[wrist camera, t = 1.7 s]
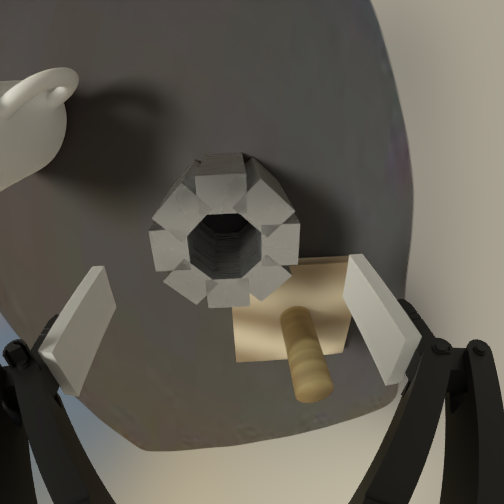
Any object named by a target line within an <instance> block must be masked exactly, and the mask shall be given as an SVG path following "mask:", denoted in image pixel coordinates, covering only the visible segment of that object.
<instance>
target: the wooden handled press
mask: <svg viewBox="0 0 504 504" xmlns="http://www.w3.org/2000/svg"><path fill="white" fill-rule="evenodd" d="M348 260H349V256H332V257H314V258H298V265H289V267H290V270H291V273H292V276H291V277H290V278H289V279H287V280H286V281H285V282H284V283H283V284H282V285H281V286H279V287H278V288H277V289H276V290H275V291H274V292H272V293H271V294H270V295H269V296H268V297H267V298H265V299H264V300H263V301H262V302H261V301H260V300H258V299H257V298H256V297H254V296H253V295H252V294H250V306H244V307H232V313H233V326H234V338H235V351H236V362H252V361H267V360H279V359H288V362H289V367H290V371H291V376H292V381H293V386H294V391H295V396H296V399H297V400H298V401H300V402H304V403H313V402H317V401H320V400H323V399H325V398H326V397H328V396H329V395H330V394H331V393H332V392H333V389H334V386H333V383H332V380H331V377H330V373H329V370H328V367H327V364H326V361H325V358H324V355H327V354H334V353H342V352H343V349H344V345H345V341H346V337H347V333H348V329H349V325H350V321H351V316H352V314H351V312H350V310H349V308H348V307H347V305H346V303H345V301H344V299H343V292H344V286H345V280H346V273H347V267H348Z"/></svg>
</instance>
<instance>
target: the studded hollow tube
mask: <svg viewBox="0 0 504 504" xmlns="http://www.w3.org/2000/svg"><path fill="white" fill-rule="evenodd" d="M294 212H295V210H294V208H293V206H292V204H291V203H290V201H289V199H288V197H287V196H286V194H285V192H284V190H283V188H282V187H281V185H280V183H279V182H278V180H277V179H276V178H275V177H274V176H273V175H272V174H271V173H270V172H269V171H267V170H266V169H265V168H264V167H263V166H262V165H261V164H260V163H259V162H258V161H257V160H256V159H255V158H253V157H251V158H250V159H249V160H248V161H247V162H246V163H245V164H244V161H243V156H242V153H223V154H206V155H205V156H204V158H203V160H202V162H201V164H200V163H199V162H198V161H197V160H194V161H193V163H192V164H191V165H190V166H189V167H188V168H187V169H186V170H185V172H184V173H183V174H182V175H181V176H180V177H179V179H178V180H177V181H176V182H175V183H174V185H173V186H172V187H171V189H170V190H169V192H168V193H167V195H166V197H165V198H164V200H163V201H162V203H161V204H160V206H159V208H158V209H157V211H156V212H155V214H154V216H153V217H152V219H153V220H154V223H153V224H152V226H151V228H150V230H149V236H150V242H151V247H152V253H153V258H154V263H155V268H156V271H166V274H165V277H164V280H163V282H165V283H166V284H167V285H169V286H170V287H172V288H173V289H175V290H176V291H177V292H179V293H180V294H182V295H183V296H185V297H186V298H187V299H189V300H190V301H192V302H193V303H195V304H196V305H197V304H198V303H199V302H200V301H201V300H202V299H203V298H204V297H205V296H206V295H207V299H208V307H209V308H223V307H244V306H250V294H252V295H253V296H254V297H256V298H257V299H258V300H260V301H261V302H262V301H263V300H264V299H265V298H267V297H268V296H269V295H270V294H271V293H272V292H274V291H275V290H276V289H277V288H278V287H279V286H281V285H282V284H283V283H284V282H285V281H286V280H287V279H289V278H290V277H291V276H292V273H291V270H290V267H289V265H298V254H299V237H300V222H299V220H298V219H297V217H296V215H295V213H294ZM231 213H239V214H240V215H241V216H243V217H244V218H245V219H246V220H247V221H248V223H247V224H246V225H245V226H244V227H243V228H242V229H241V230H240V231H239V232H234V233H216V232H214V231H213V230H212V229H211V228H209V227H208V226H207V225H206V224H204V223H203V222H202V221H201V220H202V219H203V218H204V217H205V216H206V215H211V214H231Z"/></svg>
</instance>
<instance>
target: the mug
mask: <svg viewBox="0 0 504 504" xmlns="http://www.w3.org/2000/svg"><path fill="white" fill-rule="evenodd" d="M78 82H79V78H78V75H77V73H76V72H75V71H74V70H72V69H70V68H63V67H61V68H53V69H48V70H45V71H42V72H39V73H36V74H34V75H32V76H30V77H28V78H26V79H24V80H21V81H2V82H0V191H2V190H4V189H5V188H7V187H9V186H11V185H12V184H14V183H16V182H18V181H20V180H21V179H23V178H25V177H27V176H29V175H31V174H33V173H35V172H37V171H39V170H40V169H42V168H43V167H45V166H46V165H47V164H48V163H50V162H51V161H52V160H53V159H54V157H55V156H56V155H57V153H58V151H59V150H60V148H61V145H62V143H63V140H64V137H65V132H66V125H67V117H66V109H65V105H64V102H65V101H66V100H67V99H68V98H69V97H70V96H71V95H72V94H73V93H74V91H75V90H76V88H77V86H78ZM55 88H56V89H55Z"/></svg>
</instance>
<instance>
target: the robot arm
mask: <svg viewBox="0 0 504 504" xmlns="http://www.w3.org/2000/svg"><path fill="white" fill-rule="evenodd" d="M343 299H344V301H345V303H346V305H347V307H348V308H349V310H350V312H351V314H352V316H353V318H354V320H355V322H356V324H357V326H358V328H359V330H360V332H361V334H362V337H363V339H364V341H365V343H366V345H367V347H368V349H369V351H370V353H371V355H372V357H373V359H374V362H375V364H376V366H377V368H378V370H379V372H380V374H381V377H382V379H383V381H384V383H385V385H386V386H387V385H392V384H396V383H400V382H401V381H402V379H403V377H404V375H405V374H406V376H407V377H408V379H409V380H408V382H407V384H406V386H405V388H404V390H403V392H402V394H401V395H402V397H401V400H400V403H399V405H398V407H397V410H396V412H395V415H394V417H393V419H392V422H391V424H390V426H389V428H388V431H387V433H386V435H385V437H384V439H383V442H382V443H381V446H380V448H379V450H378V452H377V454H376V456H375V458H374V460H373V462H372V463H371V465H370V467H369V469H368V471H367V473H366V475H365V476H364V478H363V480H362V482H361V483H360V485H359V487H358V489H357V490H356V492H355V494H354V495H353V497H352V499H351V500H350V502H349V503H348V504H408V503H409V501H410V498H411V496H412V494H413V492H414V489H415V487H416V485H417V482H418V480H419V477H420V475H421V472H422V470H423V467H424V465H425V462H426V459H427V456H428V454H429V451H430V448H431V444H432V441H433V438H434V435H435V432H436V428H437V425H438V422H439V418H440V414H441V410H442V406H443V403H444V399H445V414H446V415H445V416H446V428H445V457H444V470H443V481H442V490H441V497H440V504H504V409H503V402H502V397H501V391H500V386H499V381H498V376H497V371H496V367H495V363H494V358H493V354H492V351H491V349H490V347H489V346H488V345H487V343H485V342H483V341H481V340H478V339H477V340H472V341H470V342H469V344H468V345H467V347H466V348H452V346H451V344H450V343H448V342H447V341H446V340H444V339H441V338H435V336H434V335H433V334H432V332H431V331H430V329H429V328H428V326H427V325H426V324H425V322H424V321H423V319H421V317H420V315H419V314H418V313H417V311H416V310H415V309H414V307H413V306H412V305H411V304H410V303H409V302H407V301H406V300H404V299H399V300H396V298H395V297H394V295H393V294H392V293H391V291H390V290H389V289H388V287H387V286H386V285H385V283H384V282H383V280H382V279H381V278H380V276H379V275H378V274H377V272H376V271H375V270H374V269H373V267H372V266H371V265H370V263H369V262H368V261H367V259H366V258H365V257H364V256H363V254H350V255H349V260H348V267H347V273H346V280H345V286H344V292H343ZM115 309H116V304H115V301H114V298H113V294H112V291H111V288H110V284H109V281H108V278H107V274H106V271H105V267H104V266H92V268H91V269H90V270H89V272H88V273H87V275H86V276H85V277H84V279H83V280H82V282H81V283H80V285H79V286H78V288H77V289H76V290H75V292H74V293H73V295H72V296H71V298H70V299H69V301H68V302H67V304H66V305H65V307H64V309H63V310H62V312H61V313H60V315H57V314H56V315H55V316H54V317H53V318H51V319H50V320H49V321H48V323H47V324H46V326H45V328H44V329H43V331H42V332H41V335H40V336H39V337H38V339H37V341H36V342H35V344H34V346H33V347H32V349H31V351H30V349H29V348H28V346H27V344H26V342H25V341H24V340H22V339H17V340H14V341H12V342H10V343H9V344H8V345H7V346H6V347H5V349H4V350H3V357H4V358H5V360H6V361H7V363H8V365H9V366H4V367H2V366H1V364H0V504H37V499H36V494H35V488H34V482H33V476H32V469H31V461H30V453H29V443H30V446H31V449H32V452H33V455H34V457H35V460H36V463H37V465H38V468H39V471H40V473H41V476H42V478H43V480H44V483H45V485H46V487H47V490H48V492H49V494H50V496H51V498H52V501H53V503H54V504H116V503H115V502H114V500H113V499H112V497H111V495H110V494H109V492H108V491H107V489H106V488H105V486H104V484H103V483H102V481H101V479H100V478H99V476H98V474H97V473H96V471H95V469H94V467H93V466H92V464H91V462H90V460H89V458H88V456H87V455H86V453H85V451H84V449H83V447H82V445H81V443H80V441H79V439H78V437H77V435H76V433H75V430H74V428H73V426H72V424H71V422H70V419H69V417H68V415H67V413H66V410H65V408H64V405H63V403H62V400H61V398H60V396H59V395H58V393H57V391H58V389H59V386H60V387H61V389H62V390H63V392H64V393H65V394H67V395H72V396H78V397H79V394H80V392H81V389H82V386H83V384H84V381H85V379H86V376H87V374H88V371H89V369H90V366H91V364H92V361H93V359H94V356H95V354H96V352H97V349H98V347H99V344H100V342H101V340H102V338H103V335H104V333H105V331H106V328H107V326H108V324H109V322H110V320H111V317H112V315H113V313H114V311H115ZM28 440H29V441H28Z"/></svg>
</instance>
